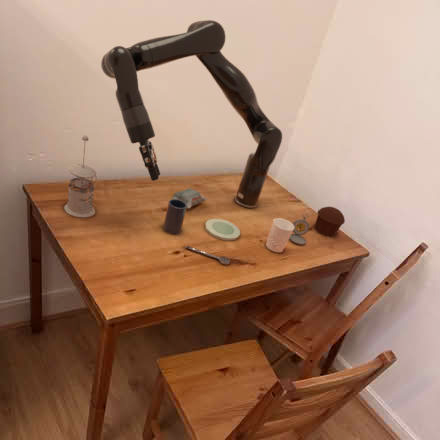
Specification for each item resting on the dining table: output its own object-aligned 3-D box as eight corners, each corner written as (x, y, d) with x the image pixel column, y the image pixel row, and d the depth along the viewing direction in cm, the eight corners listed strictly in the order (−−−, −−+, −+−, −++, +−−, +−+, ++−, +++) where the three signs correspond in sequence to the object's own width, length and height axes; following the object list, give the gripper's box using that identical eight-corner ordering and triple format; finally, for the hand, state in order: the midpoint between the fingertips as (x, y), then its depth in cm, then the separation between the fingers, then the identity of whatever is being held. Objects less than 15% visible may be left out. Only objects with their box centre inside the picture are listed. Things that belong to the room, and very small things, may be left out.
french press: (57, 208, 140) (60, 133, 125) (79, 197, 149) (85, 125, 134) (83, 220, 139) (89, 145, 124) (104, 208, 148) (112, 137, 133)
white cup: (286, 246, 161) (296, 223, 155) (282, 256, 155) (292, 232, 149) (266, 238, 162) (276, 215, 156) (261, 247, 156) (271, 224, 150)
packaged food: (206, 205, 170) (208, 193, 167) (187, 212, 161) (190, 201, 158) (188, 195, 173) (191, 184, 170) (169, 202, 164) (172, 190, 161)
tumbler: (166, 222, 152) (171, 197, 146) (183, 228, 152) (189, 203, 146) (160, 230, 147) (166, 204, 141) (177, 236, 147) (184, 210, 141)
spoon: (186, 245, 144) (187, 242, 143) (230, 260, 144) (231, 258, 143) (183, 250, 141) (184, 248, 140) (228, 266, 141) (229, 264, 140)
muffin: (337, 228, 185) (347, 208, 179) (338, 241, 176) (349, 220, 170) (311, 220, 185) (320, 199, 179) (310, 232, 176) (320, 210, 170)
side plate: (209, 217, 163) (210, 214, 162) (242, 228, 163) (242, 226, 162) (201, 232, 153) (201, 230, 152) (235, 244, 152) (236, 242, 152)
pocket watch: (294, 246, 163) (304, 223, 157) (283, 233, 168) (292, 211, 162) (311, 245, 167) (321, 223, 161) (299, 233, 173) (308, 211, 167)
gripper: (148, 120, 120) (167, 177, 127) (151, 119, 134) (168, 171, 140) (122, 128, 121) (142, 185, 127) (128, 126, 134) (146, 178, 140)
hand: (156, 177), depth 134 cm, fingers open, 8 cm apart
